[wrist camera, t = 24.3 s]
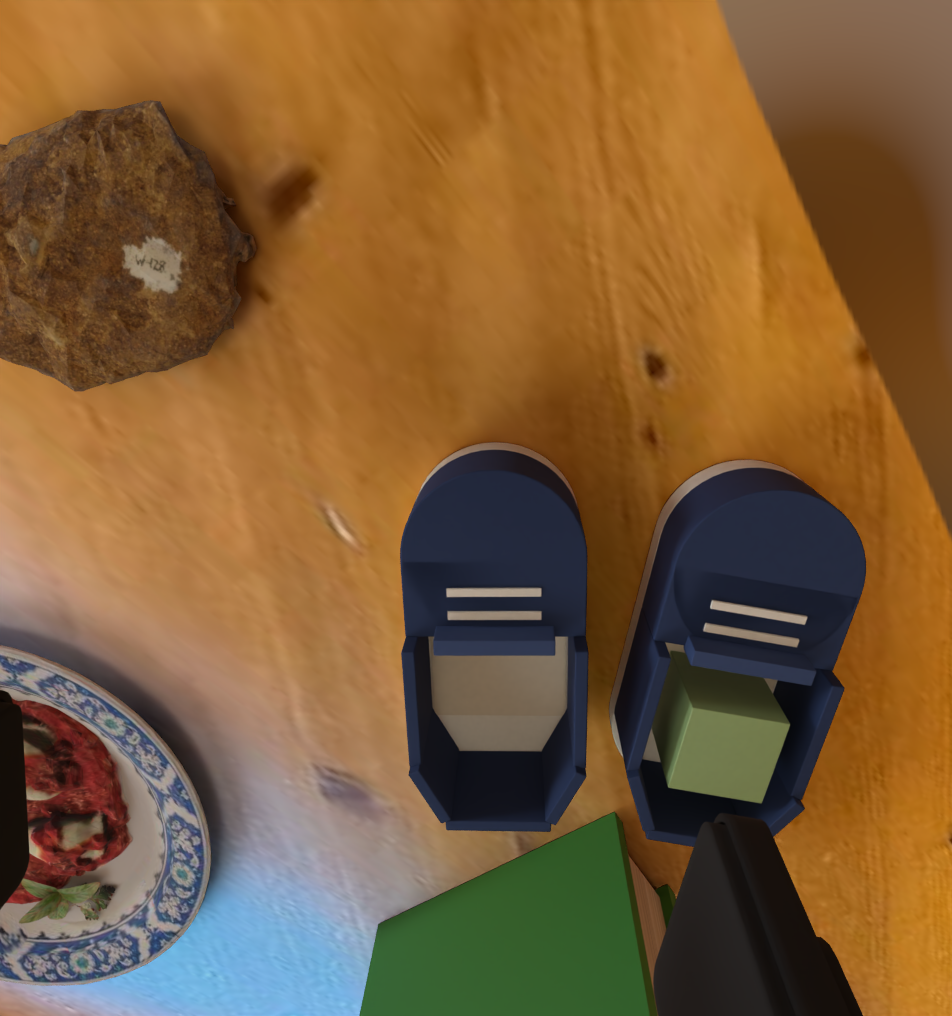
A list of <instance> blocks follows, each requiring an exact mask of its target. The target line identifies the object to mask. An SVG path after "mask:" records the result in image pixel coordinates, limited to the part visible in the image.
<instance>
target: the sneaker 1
mask: <svg viewBox="0 0 952 1016" xmlns="http://www.w3.org/2000/svg"><path fill="white" fill-rule="evenodd" d="M400 560H401V561H400V562H401V576H402V591H403V605H404V620H405V634H406V639H405V642H404V646H403V649H402V653H401V654H402V668H403V681H404V695H405V709H406V723H407V737H408V751H409V764H410V771H409V776H410V778H411V779H412V781H413V782H414V784H415V785H416V787H417V788H418V790H419V791H420V793H421V794H422V796H423V797H424V799H425V800H426V802H427V803H428V804H429V806H430V807H431V809H432V810H433V812H434V813H435V815H436V816H437V818H438V819H439V821H440V822H441V823H444V822H446V829H447V830H471V831H538V832H550V831H551V824H554V825H556V824H557V822H558V821H559V819H560V817H561V816H562V814H563V813H564V811H565V810H566V808H567V806H568V805H569V803H570V802H571V800H572V799H573V797H574V795H575V794H576V792H577V791H578V789H579V788H580V786H581V785H582V783H583V781H584V780H585V778H586V770H585V768H586V743H587V697H588V647H587V642H586V604H587V546H586V540H585V535H584V531H583V527H582V523H581V518H580V514H579V510H578V505H577V501H576V498H575V495H574V493H573V490H572V488H571V486H570V484H569V482H568V481H567V480H566V478H565V477H564V475H563V474H562V473H561V472H560V470H559V469H558V468H557V467H556V466H555V465H554V464H552V463H551V462H550V461H549V460H548V459H546V458H545V457H543V456H542V455H540V454H538V453H537V452H535V451H532V450H530V449H528V448H525V447H522V446H519V445H515V444H509V443H499V442H491V443H482V444H477V445H472V446H469V447H466V448H464V449H461V450H459V451H457V452H455V453H453V454H451V455H450V456H448V457H447V458H446V459H444V460H443V461H442V462H441V463H439V464H438V465H437V466H436V467H435V468H434V469H433V471H432V472H431V473H430V474H429V475H428V477H427V478H426V480H425V482H424V483H423V485H422V487H421V489H420V492H419V494H418V496H417V499H416V501H415V504H414V506H413V509H412V511H411V513H410V516H409V518H408V521H407V523H406V526H405V529H404V532H403V536H402V541H401V548H400Z"/></svg>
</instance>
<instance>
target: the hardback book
mask: <svg viewBox="0 0 952 1016" xmlns="http://www.w3.org/2000/svg"><path fill="white" fill-rule="evenodd" d="M675 902H676V897H675V894H674V893H673V891H672V890H671V888H670V887H669V886H668V884H667V885H665V886H662V887H660V888H658V889H656V890H654V889H653V888H652V886H651V885H650V883H649V882H648V881H647V879H646V878H645V877H644V875H643V874H642V873H641V871H640V870H639V869H638V867H637V866H636V865H635V863H634V862H633V860H632V859H631V858H630V856H629V855H628V851H627V845H626V840H625V834H624V829H623V824H622V821H621V820H620V819H619V817H618V816H617V814H616V813H615V812H613V813H611V814H609V815H607V816H605V817H602V818H600V819H598V820H596V821H594V822H592V823H590V824H588V825H586V826H584V827H581V828H579V829H577V830H575V831H573V832H571V833H569V834H567V835H565V836H563V837H561V838H558V839H556V840H554V841H552V842H550V843H548V844H546V845H544V846H542V847H540V848H537V849H535V850H533V851H531V852H529V853H527V854H525V855H523V856H521V857H519V858H516V859H514V860H512V861H510V862H508V863H506V864H504V865H502V866H500V867H498V868H495V869H493V870H491V871H489V872H487V873H485V874H483V875H481V876H479V877H477V878H475V879H472V880H470V881H468V882H466V883H464V884H462V885H460V886H458V887H456V888H454V889H451V890H449V891H447V892H445V893H443V894H441V895H439V896H437V897H435V898H433V899H430V900H428V901H426V902H424V903H422V904H420V905H418V906H416V907H414V908H412V909H410V910H407V911H405V912H403V913H401V914H399V915H397V916H395V917H393V918H391V919H389V920H386V921H384V922H382V923H380V924H378V929H377V934H376V938H375V943H374V948H373V953H372V958H371V963H370V967H369V972H368V977H367V982H366V987H365V992H364V997H363V1001H362V1006H361V1011H360V1016H658V1013H657V1007H656V1002H655V996H654V986H653V977H654V967H655V963H656V959H657V956H658V953H659V950H660V947H661V944H662V941H663V938H664V935H665V932H666V929H667V926H668V923H669V920H670V917H671V914H672V911H673V908H674V905H675Z"/></svg>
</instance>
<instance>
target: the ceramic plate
mask: <svg viewBox="0 0 952 1016" xmlns="http://www.w3.org/2000/svg"><path fill="white" fill-rule="evenodd" d="M0 690H3V691H6V692H8V693H9V694H10V696H11V697H12V702H13V704H17V705H19V706H20V708H21V711H22V720H23V739H24V758H25V777H26V795H27V814H28V833H29V852H30V857H29V864H28V868H27V871H26V873H25V876H24V878H23V880H22V882H21V883H20V885H19V886H18V888H17V889H16V890H15V892H14V893H13V894H12V895H11V897H10V898H9V899H8V900H7V902H6V903H5V904H4V906H3V907H2V908H1V909H0V980H1V981H7V982H14V983H22V984H30V985H79V984H88V983H93V982H97V981H101V980H105V979H109V978H113V977H116V976H119V975H122V974H125V973H128V972H130V971H133V970H135V969H137V968H139V967H141V966H143V965H146V964H148V963H149V962H151V961H152V960H154V959H155V958H157V957H158V956H160V955H161V954H162V953H164V952H165V951H166V950H167V949H169V948H170V947H171V946H172V945H173V944H174V943H175V942H176V941H177V940H178V939H179V938H180V937H181V936H182V935H183V934H184V932H185V931H186V930H187V929H188V927H189V926H190V925H191V923H192V921H193V920H194V918H195V916H196V914H197V913H198V911H199V909H200V906H201V904H202V901H203V899H204V896H205V892H206V889H207V885H208V881H209V874H210V865H211V846H210V836H209V829H208V825H207V821H206V816H205V813H204V810H203V807H202V804H201V802H200V799H199V796H198V794H197V792H196V790H195V788H194V786H193V784H192V782H191V780H190V778H189V776H188V775H187V773H186V771H185V770H184V768H183V766H182V765H181V763H180V762H179V760H178V759H177V757H176V756H175V755H174V753H173V752H172V751H171V749H170V748H169V747H168V745H167V744H166V743H165V742H164V741H163V740H162V738H161V737H160V736H159V735H158V734H157V733H156V732H155V730H154V729H153V728H152V727H150V726H149V725H148V724H147V723H146V722H145V721H144V720H143V719H142V718H141V717H140V716H139V715H138V714H137V713H136V712H134V711H133V710H132V709H131V708H130V707H128V706H127V705H126V704H125V703H123V702H122V701H121V700H120V699H118V698H117V697H115V696H114V695H113V694H111V693H110V692H108V691H107V690H105V689H104V688H103V687H101V686H99V685H98V684H96V683H94V682H93V681H91V680H89V679H87V678H86V677H84V676H82V675H81V674H79V673H77V672H75V671H73V670H70V669H68V668H66V667H64V666H62V665H60V664H58V663H55V662H53V661H50V660H48V659H45V658H43V657H40V656H38V655H35V654H32V653H28V652H25V651H22V650H19V649H15V648H11V647H6V646H2V645H0Z"/></svg>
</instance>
